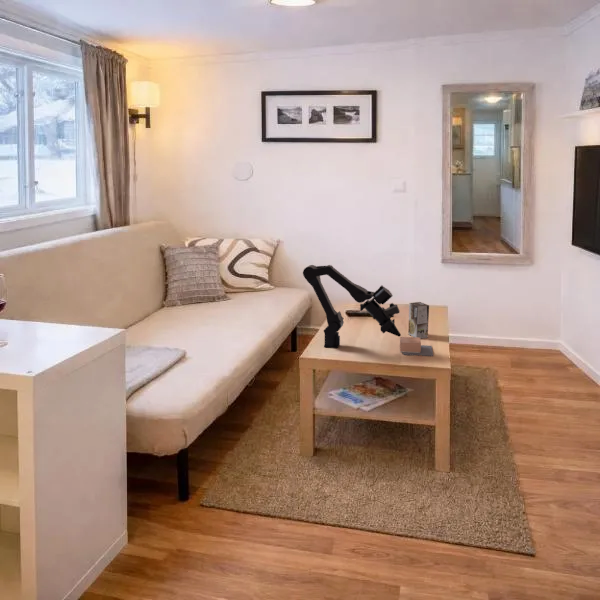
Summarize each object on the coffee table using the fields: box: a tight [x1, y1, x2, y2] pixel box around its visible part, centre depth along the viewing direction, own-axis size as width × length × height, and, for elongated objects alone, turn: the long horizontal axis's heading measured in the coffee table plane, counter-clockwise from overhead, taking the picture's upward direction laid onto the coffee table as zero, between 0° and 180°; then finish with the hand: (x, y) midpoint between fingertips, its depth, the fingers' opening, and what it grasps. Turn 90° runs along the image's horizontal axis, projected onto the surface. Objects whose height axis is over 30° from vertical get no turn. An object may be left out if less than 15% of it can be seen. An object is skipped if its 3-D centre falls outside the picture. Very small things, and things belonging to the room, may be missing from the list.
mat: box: [402, 344, 434, 357], centre depth 292 cm, size 13×16×1 cm
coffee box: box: [407, 301, 430, 339], centre depth 316 cm, size 9×6×16 cm
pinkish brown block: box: [399, 336, 422, 353], centre depth 292 cm, size 4×10×9 cm
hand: (400, 335), depth 292 cm, fingers closed
